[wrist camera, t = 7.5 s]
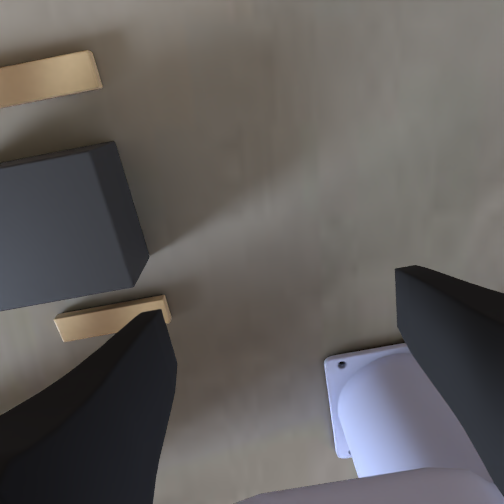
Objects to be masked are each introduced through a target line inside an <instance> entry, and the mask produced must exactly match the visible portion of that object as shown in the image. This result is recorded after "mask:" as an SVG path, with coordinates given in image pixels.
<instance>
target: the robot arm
mask: <svg viewBox="0 0 504 504" xmlns="http://www.w3.org/2000/svg"><path fill="white" fill-rule="evenodd" d="M395 281H396V307H397V327H398V329H399V331H400V333H401V335H402V337H403V339H404V341H405V343H401V344H396V345H390V346H384V347H379V348H373V349H367V350H362V351H356V352H350V353H345V354H339V355H333V356H330V357H328V358H326V359H325V361H324V368H325V375H326V383H327V390H328V397H329V405H330V412H331V419H332V426H333V434H334V441H335V448H336V453H337V456H338V457H340V458H350V457H352V459H353V462H354V465H355V468H356V471H357V474H358V477H359V478H356V479H349V480H343V481H337V482H330V483H324V484H318V485H312V486H305V487H299V488H293V489H286V490H280V491H274V492H268V493H261V494H258V495H256V496H253V497H250V498H247V499H245V500H242V501H239V502H236V503H234V504H504V293H500V292H497V291H493V290H490V289H487V288H484V287H481V286H478V285H475V284H472V283H469V282H466V281H463V280H460V279H457V278H454V277H451V276H449V275H446V274H443V273H440V272H437V271H434V270H431V269H428V268H425V267H421V266H417V265H414V266H408V267H402V268H396V269H395ZM341 361H344V363H343V364H338V363H339V362H341ZM176 375H177V361H176V357H175V354H174V350H173V347H172V344H171V340H170V337H169V333H168V330H167V326H166V323H165V320H164V316H163V313H162V309H157V310H151V311H146V312H141V313H140V314H138V315H137V316H136V317H135V318H133V319H132V320H131V321H130V322H129V323H128V324H126V325H125V326H124V327H123V328H122V329H121V330H120V331H118V332H117V333H116V334H115V335H114V336H113V337H112V338H111V339H109V340H108V341H107V342H106V343H105V344H104V345H103V346H101V347H100V348H99V349H98V350H97V351H95V352H94V353H93V354H92V355H90V356H89V357H88V358H87V359H85V360H84V361H83V362H82V363H81V364H79V365H78V366H77V367H76V368H74V369H73V370H72V371H70V372H69V373H68V374H66V375H65V376H63V377H62V378H61V379H59V380H58V381H56V382H55V383H53V384H52V385H50V386H49V387H47V388H46V389H44V390H43V391H41V392H40V393H38V394H36V395H35V396H33V397H31V398H30V399H28V400H26V401H25V402H23V403H21V404H19V405H18V406H16V407H14V408H13V409H11V410H9V411H8V412H6V413H4V414H2V415H0V504H153V497H154V489H155V481H156V474H157V469H158V463H159V459H160V454H161V450H162V446H163V442H164V437H165V433H166V429H167V425H168V420H169V416H170V412H171V407H172V403H173V399H174V394H175V386H176Z"/></svg>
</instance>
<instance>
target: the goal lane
mask: <svg viewBox="0 0 504 504" xmlns="http://www.w3.org/2000/svg"><path fill="white" fill-rule="evenodd" d="M102 87H103V86H102V83H101V80H100V76H99V73H98V70H97V66H96V63H95V59H94V56H93V53H92V52H91V51H88V50H84V51H79V52H74V53H69V54H64V55H59V56H54V57H49V58H45V59H40V60H35V61H30V62H25V63H20V64H15V65H10V66H5V67H0V108H5V107H10V106H16V105H21V104H26V103H31V102H36V101H41V100H46V99H51V98H56V97H61V96H66V95H71V94H76V93H81V92H86V91H91V90H96V89H101V88H102ZM157 309H162V313H163V316H164V320H165V323H166V324H167V323H170V321H171V318H172V317H171V314H170V310H169V307H168V304H167V300H166V297H165V295H160V296H154V297H149V298H143V299H138V300H132V301H127V302H121V303H116V304H110V305H105V306H99V307H94V308H88V309H83V310H78V311H72V312H67V313H61V314H58V315H57V316H56V317H55V319H54V321H55V324H56V326H57V328H58V331H59V333H60V335H61V338H62V340H63V342H68V341H73V340H79V339H84V338H90V337H95V336H101V335H106V334H112V333H117V332H118V331H120V330H121V329H122V328H123V327H124V326H125V325H126V324H128V323H129V322H130V321H131V320H132V319H133V318H135V317H136V316H137V315H138V314H140V313H141V312H146V311H151V310H157Z"/></svg>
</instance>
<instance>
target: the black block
mask: <svg viewBox="0 0 504 504" xmlns="http://www.w3.org/2000/svg"><path fill="white" fill-rule="evenodd" d="M148 259H149V253H148V250H147V247H146V243H145V240H144V237H143V233H142V230H141V227H140V224H139V220H138V217H137V214H136V210H135V207H134V204H133V200H132V197H131V194H130V190H129V187H128V184H127V180H126V177H125V174H124V170H123V167H122V164H121V160H120V157H119V154H118V150H117V147H116V144H115V142H114V141H111V142H106V143H101V144H96V145H91V146H85V147H80V148H75V149H70V150H65V151H59V152H54V153H49V154H44V155H38V156H33V157H28V158H23V159H18V160H12V161H7V162H2V163H0V311H5V310H10V309H16V308H21V307H27V306H32V305H38V304H43V303H49V302H54V301H60V300H65V299H71V298H76V297H82V296H87V295H93V294H98V293H104V292H109V291H115V290H120V289H126V288H131V287H134V286H135V284H136V282H137V280H138V278H139V276H140V274H141V272H142V271H143V269H144V267H145V265H146V263H147V261H148Z"/></svg>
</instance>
